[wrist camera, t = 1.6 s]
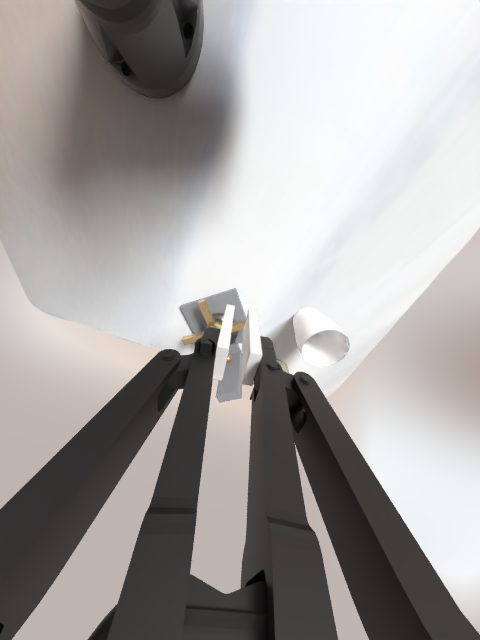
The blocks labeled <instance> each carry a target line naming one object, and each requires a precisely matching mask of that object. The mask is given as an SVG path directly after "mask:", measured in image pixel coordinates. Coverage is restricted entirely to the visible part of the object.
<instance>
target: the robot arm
mask: <svg viewBox="0 0 480 640" xmlns="http://www.w3.org/2000/svg"><path fill="white" fill-rule="evenodd" d="M75 2H76V4H77V6H78V9H79V11H80V13H81V15H82V17H83V19H84V22H85V24H86V26H87V28H88V30H89V32H90V34H91V37H92V38H93V40H94V42H95V44H96V46H97V47H98V49H99V51H100V52H101V54H102V55H103V57H104V58H105V59H106V61H107V62H108V63H109V65H110V66H111V67H112V68H113V69H114V71H115V72H116V73H117V74H118V75H119V77H120V78H121V79H122V80H123V81H124V82H125V83H126V84H127V85H129V86H130V87H131V88H132V89H134V90H135V91H137V92H139V93H140V94H143V95H145V96H148V97H153V98H163V97H167V96H170V95H172V94H174V93H176V92H177V91H179V90H180V89H181V88H182V87H183V86H184V85H185V84H186V83H187V81H188V80H189V79H190V77H191V75H192V73H193V72H194V69H195V67H196V65H197V62H198V59H199V55H200V51H201V46H202V40H203V27H204V15H203V2H202V0H75ZM234 309H235V306H234V305H229V304H227V306H226V310H225V314H224V318H223V323H222V327H221V329H218V328H212V327H208V328H207V329H205V331H204V334H203V336H202V338H199V339H197V340H196V342H195V349H194V353H193V354H190V355H180V353H179V352H178V351H176V350H173V349H166V350H163V351H160V352H159V353H158V354H157V355H156V356H155V357H154V358H153V359H152V360H151V361H150V362H149V363H148V364H147V365H146V366H145V367H144V368H143V369H142V370H141V371H140V372H139V373H138V374H137V375H136V376H135V377H134V378H132V380H131V381H129V383H127V384H126V385H125V386H124V387H123V389H121V390H120V391H119V392H118V393H117V394H116V395H115V396H114V398H112V399H111V400H110V401H109V402H108V403H107V404H106V405H105V406H104V407H103V408H102V409H101V410H100V411H99V412H98V413H97V414H96V415H95V416H94V417H93V418H92V419H91V420H90V421H89V422H88V423H87V424H86V425H85V426H84V427H83V428H82V429H81V430H80V431H79V432H78V433H77V434H76V435H75V436H74V437H73V438H72V439H71V440H70V441H69V442H68V443H67V444H66V445H65V446H64V447H63V448H62V449H61V450H60V451H59V452H58V453H57V454H56V455H55V456H54V457H53V458H52V459H51V460H50V461H49V462H48V463H47V464H46V465H45V466H44V467H43V468H42V469H41V470H40V471H39V472H38V473H37V474H36V475H35V476H34V477H33V478H32V479H31V480H30V481H29V482H28V483H27V484H26V485H25V486H24V487H23V488H22V489H20V491H19V492H17V493H16V494H15V495H14V496H13V498H11V499H10V500H9V501H8V502H7V503H6V504H5V505H4V506H3V507H2V508H1V509H0V640H12V638H13V637H14V636H15V634H16V633H17V632H18V630H19V629H20V628H21V626H22V625H23V624H24V622H25V621H26V620H27V619H28V617H29V616H30V615H31V613H32V612H33V611H34V609H35V608H36V607H37V605H38V604H39V603H40V601H41V600H42V598H43V597H44V595H45V594H46V592H47V591H48V589H49V588H50V587H51V585H52V584H53V582H54V581H55V579H56V578H57V576H58V575H59V573H60V572H61V570H62V569H63V567H64V566H65V564H66V562H67V561H68V559H69V558H70V556H71V555H72V553H73V552H74V550H75V549H76V547H77V545H78V544H79V542H80V541H81V539H82V538H83V536H84V534H85V533H86V532H87V530H88V528H89V527H90V525H91V524H92V522H93V521H94V519H95V518H96V516H97V515H98V513H99V511H100V510H101V508H102V507H103V505H104V504H105V502H106V500H107V499H108V498H109V496H110V494H111V493H112V491H113V490H114V488H115V487H116V485H117V484H118V482H119V480H120V479H121V477H122V476H123V474H124V473H125V471H126V469H127V468H128V467H129V464H130V463H131V462H132V460H133V459H134V457H135V456H136V454H137V452H138V451H139V450H140V448H141V446H142V445H143V443H144V442H145V440H146V439H147V437H148V436H149V434H150V432H151V431H152V429H153V428H154V426H155V425H156V423H157V422H158V420H159V419H160V417H161V415H162V414H163V412H164V411H165V409H166V408H167V406H168V405H169V403H170V401H171V400H172V398H173V397H174V395H175V394H176V392H177V391H178V389H184V390H183V393H182V397H181V400H180V404H179V407H178V411H177V414H176V418H175V421H174V425H173V428H172V432H171V435H170V438H169V442H168V445H167V449H166V452H165V456H164V459H163V463H162V466H161V470H160V473H159V477H158V480H157V483H156V487H155V490H154V494H153V497H152V501H151V504H150V506H149V508H148V510H147V512H146V514H145V517H144V519H143V522H142V525H141V528H140V531H139V534H138V538H137V541H136V545H135V548H134V551H133V555H132V558H131V561H130V565H129V568H128V571H127V575H126V578H125V581H124V585H123V588H122V591H121V595H120V598H119V601H118V604H117V605H116V606H115V607H114V608H113V609H112V610H111V611H110V612H109V613H108V615H107V616H106V617H105V618H104V619H103V620H102V622H101V623H100V624H99V626H98V627H97V628H96V629H95V631H94V632H93V633H92V635H91V636H90V637H89V639H88V640H338V637H337V631H336V626H335V621H334V616H333V611H332V606H331V600H330V595H329V590H328V585H327V579H326V574H325V569H324V564H323V558H322V553H321V549H320V545H319V541H318V539H317V536H316V534H315V532H314V531H313V530H312V529H311V527H310V526H309V524H308V521H307V517H306V512H305V506H304V500H303V493H302V487H301V481H300V475H299V469H298V462H297V456H296V450H295V445H296V447H297V450H298V453H299V456H300V458H301V461H302V464H303V466H304V469H305V472H306V474H307V477H308V480H309V483H310V485H311V488H312V491H313V493H314V496H315V499H316V501H317V504H318V507H319V510H320V512H321V515H322V518H323V520H324V523H325V526H326V528H327V531H328V534H329V537H330V539H331V542H332V545H333V547H334V550H335V553H336V555H337V558H338V561H339V563H340V566H341V569H342V572H343V574H344V577H345V580H346V583H347V585H348V588H349V591H350V593H351V596H352V599H353V601H354V604H355V606H356V609H357V611H358V614H359V616H360V619H361V621H362V624H363V626H364V629H365V631H366V633H367V635H368V638H369V640H480V635H479V633H478V632H477V631H476V630H475V629H474V627H473V626H472V625H471V623H470V622H469V621H468V620H467V618H466V617H465V616H464V615H463V613H462V612H461V611H460V609H459V608H458V606H457V605H456V603H455V602H454V600H453V598H452V597H451V595H450V593H449V592H448V590H447V589H446V587H445V586H444V584H443V583H442V581H441V579H440V578H439V576H438V575H437V573H436V571H435V570H434V568H433V567H432V565H431V563H430V562H429V560H428V559H427V557H426V556H425V554H424V552H423V551H422V549H421V548H420V546H419V544H418V543H417V541H416V540H415V538H414V537H413V535H412V533H411V532H410V531H409V529H408V527H407V526H406V524H405V523H404V521H403V519H402V518H401V516H400V514H399V513H398V511H397V510H396V508H395V507H394V505H393V503H392V502H391V501H390V499H389V497H388V496H387V494H386V492H385V491H384V489H383V488H382V486H381V484H380V483H379V481H378V480H377V478H376V477H375V475H374V473H373V472H372V470H371V469H370V467H369V466H368V464H367V463H366V461H365V459H364V458H363V456H362V454H361V453H360V451H359V450H358V448H357V447H356V445H355V443H354V442H353V440H352V439H351V437H350V436H349V434H348V432H347V431H346V429H345V428H344V426H343V425H342V423H341V421H340V420H339V418H338V417H337V415H336V413H335V412H334V410H333V409H332V407H331V405H330V404H329V402H328V401H327V399H326V398H325V396H324V394H323V393H322V391H321V390H320V388H319V387H318V385H317V383H316V382H315V380H314V379H313V378H312V377H311V376H310V375H308V374H306V373H304V372H297V373H295V375H292V374H289V373H287V372H285V371H283V370H282V367H281V365H280V364H279V363H278V362H277V361H276V356H275V352H274V347H273V343H272V341H271V340H270V338H267V337H262V336H260V332H259V324H258V316H257V310H253V309H249V310H248V314H247V318H246V322H245V326H244V330H243V341H242V377H241V384H245V385H250V386H252V385H253V382H254V388H253V391H252V394H251V397H250V400H252V413H251V414H252V415H251V436H250V459H249V460H250V461H249V483H248V506H247V530H246V543H245V548H244V553H243V560H242V572H241V573H242V574H241V589H239V590H237V591H235V592H232V593H230V594H224V593H222V592H220V591H218V590H216V589H215V588H213V587H211V586H210V585H208V584H206V583H205V582H203V581H201V580H200V579H198V578H196V577H195V576H193V575H190V568H191V558H192V551H193V543H194V534H195V526H196V516H197V501H198V494H199V486H200V477H201V469H202V461H203V453H204V445H205V437H206V429H207V421H208V412H209V404H210V396H211V387H212V380H213V379H215V380H221V381H222V379H223V374H224V370H225V365H226V361H227V356H228V352H229V346H230V339H231V331H232V324H233V316H234ZM294 442H295V444H294Z"/></svg>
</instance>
